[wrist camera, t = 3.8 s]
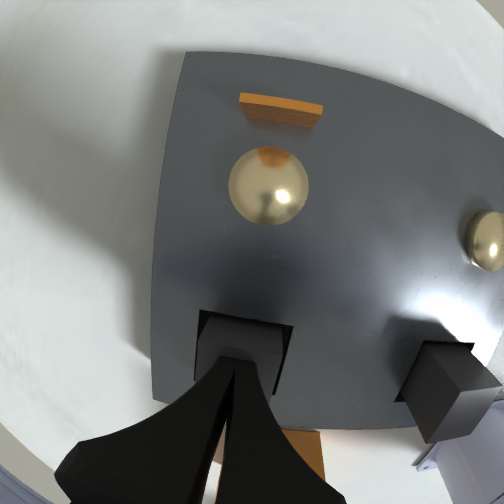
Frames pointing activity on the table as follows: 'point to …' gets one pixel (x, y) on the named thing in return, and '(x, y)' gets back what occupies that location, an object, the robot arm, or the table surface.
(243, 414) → the robot arm
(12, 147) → the table surface
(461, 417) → the block
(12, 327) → the table surface
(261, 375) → the dark grey block
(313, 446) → the cap
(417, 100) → the grey flat slab
